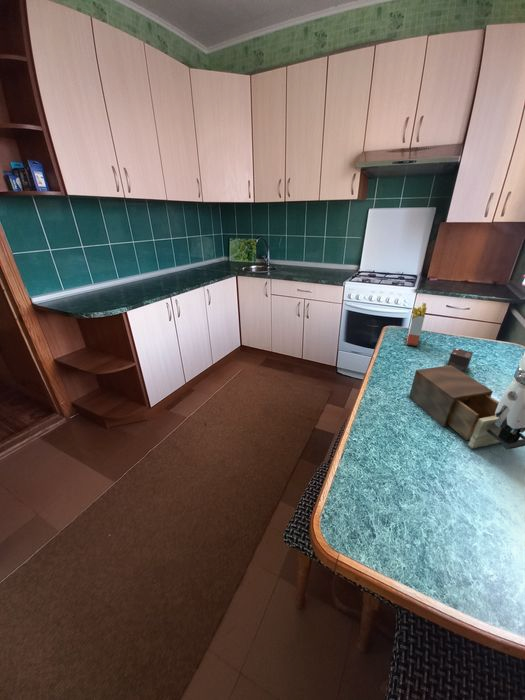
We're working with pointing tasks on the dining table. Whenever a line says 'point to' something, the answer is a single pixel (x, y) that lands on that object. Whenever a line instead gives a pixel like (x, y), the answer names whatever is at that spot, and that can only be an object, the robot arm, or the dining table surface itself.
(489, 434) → the drawer
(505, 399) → the robot arm
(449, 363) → the box
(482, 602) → the dining table surface
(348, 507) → the dining table surface
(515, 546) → the dining table surface
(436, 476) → the dining table surface
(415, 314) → the french fries container
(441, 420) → the cabinet
